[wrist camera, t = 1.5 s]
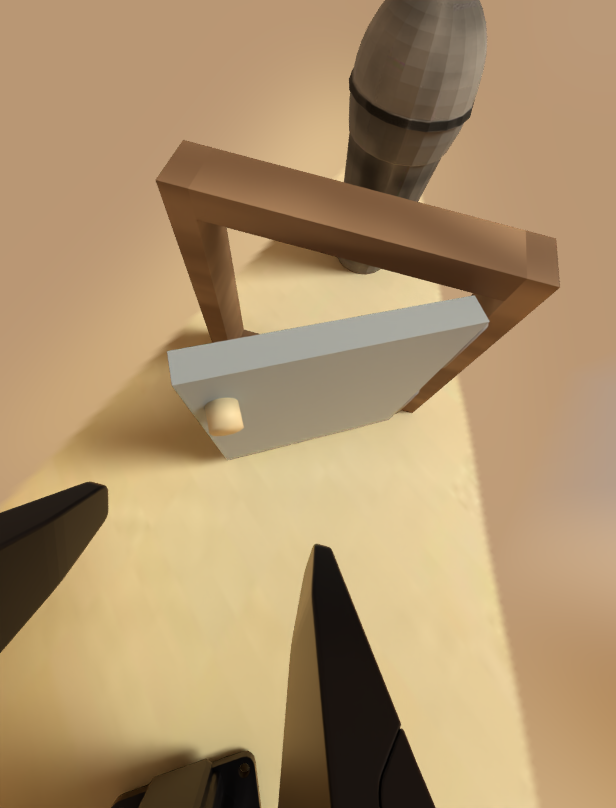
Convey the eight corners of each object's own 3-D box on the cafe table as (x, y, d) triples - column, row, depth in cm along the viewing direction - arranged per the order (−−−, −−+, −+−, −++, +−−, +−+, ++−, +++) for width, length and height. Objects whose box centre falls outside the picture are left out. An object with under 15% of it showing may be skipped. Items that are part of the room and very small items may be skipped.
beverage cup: (305, 249, 28) (359, -290, 10) (359, 215, 30) (488, -273, 12) (363, 300, 27) (561, -225, 8) (415, 260, 29) (664, -219, 10)
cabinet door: (404, 430, 21) (522, 340, 11) (230, 476, 19) (176, 416, 9) (392, 401, 22) (493, 292, 12) (223, 442, 20) (166, 351, 10)
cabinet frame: (412, 412, 23) (560, 287, 11) (218, 360, 23) (155, 179, 11) (416, 383, 24) (556, 238, 12) (230, 333, 24) (183, 140, 12)
